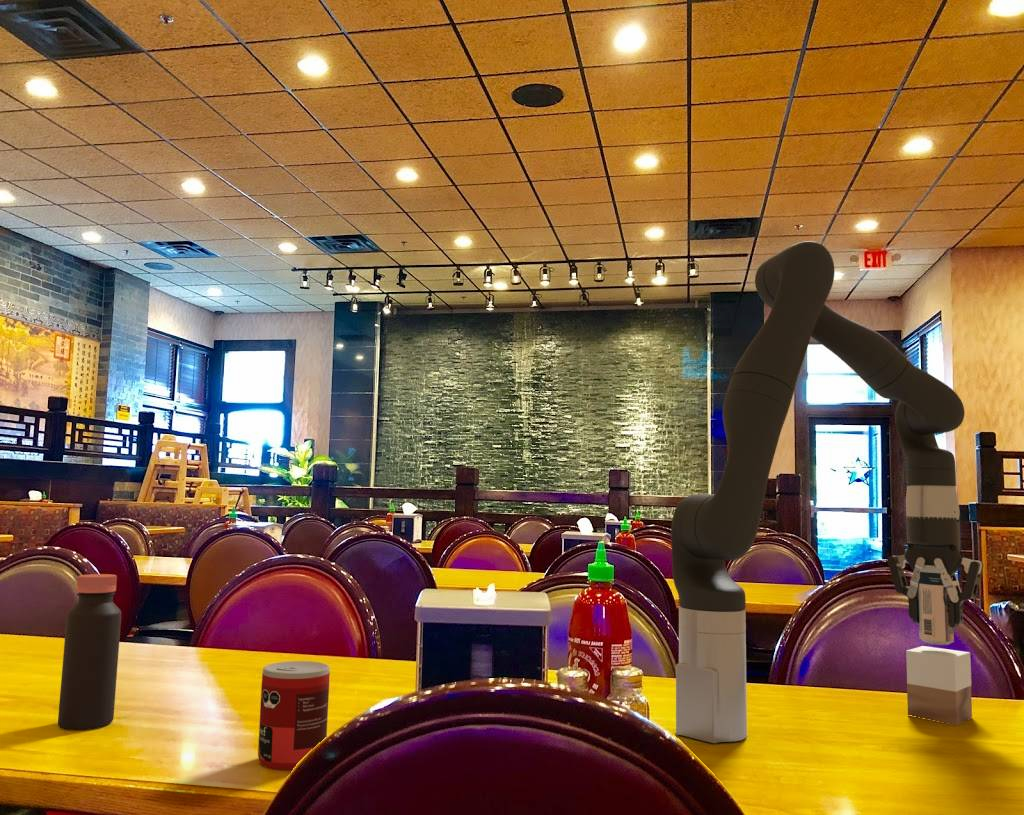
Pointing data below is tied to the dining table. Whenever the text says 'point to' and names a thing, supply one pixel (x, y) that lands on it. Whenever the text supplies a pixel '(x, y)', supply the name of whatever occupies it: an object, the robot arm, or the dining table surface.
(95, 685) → the bottle
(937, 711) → the tower base
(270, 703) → the canned food
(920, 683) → the tower top
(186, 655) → the dining table surface
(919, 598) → the beer can
